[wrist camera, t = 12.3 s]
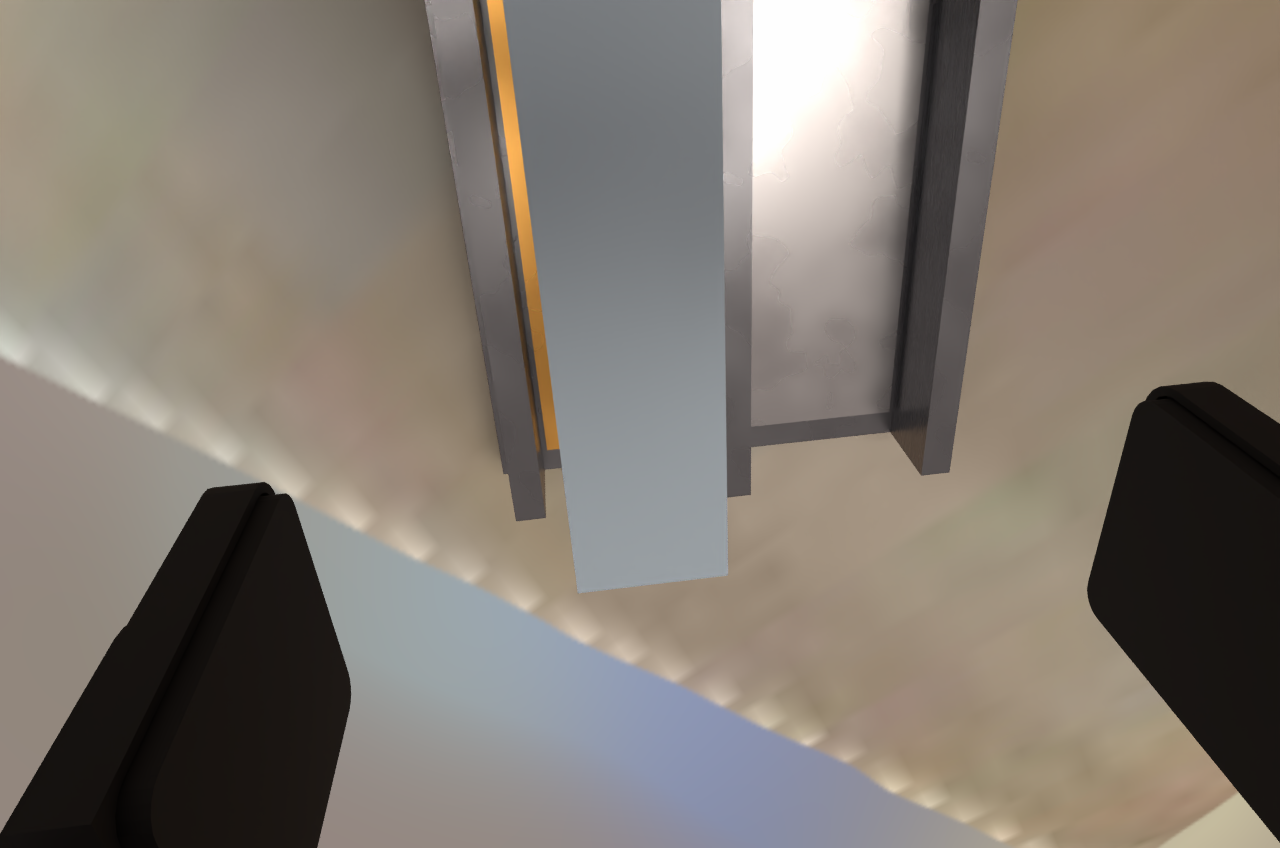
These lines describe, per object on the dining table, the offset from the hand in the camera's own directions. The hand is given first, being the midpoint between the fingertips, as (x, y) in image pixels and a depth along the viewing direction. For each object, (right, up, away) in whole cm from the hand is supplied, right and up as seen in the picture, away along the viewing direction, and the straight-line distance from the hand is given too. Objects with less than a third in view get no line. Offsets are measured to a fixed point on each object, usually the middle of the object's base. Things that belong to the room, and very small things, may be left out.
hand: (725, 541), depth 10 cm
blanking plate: (-2, +9, +16) cm, 19 cm away
